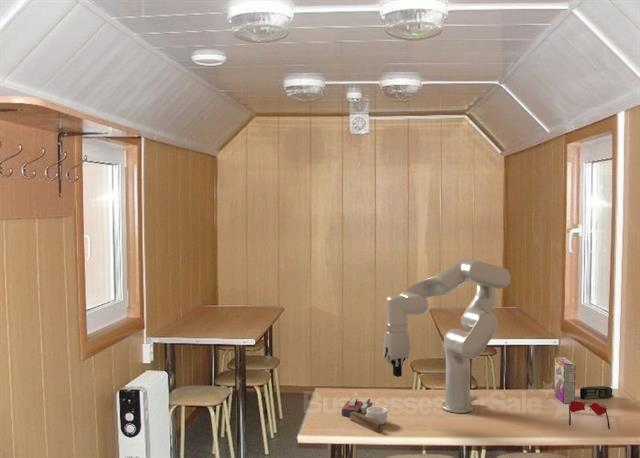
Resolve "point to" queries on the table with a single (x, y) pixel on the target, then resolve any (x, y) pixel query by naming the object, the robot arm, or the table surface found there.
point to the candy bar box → (564, 380)
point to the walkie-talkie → (354, 407)
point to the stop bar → (366, 422)
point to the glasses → (581, 406)
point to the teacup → (377, 414)
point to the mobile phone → (596, 392)
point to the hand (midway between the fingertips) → (397, 375)
